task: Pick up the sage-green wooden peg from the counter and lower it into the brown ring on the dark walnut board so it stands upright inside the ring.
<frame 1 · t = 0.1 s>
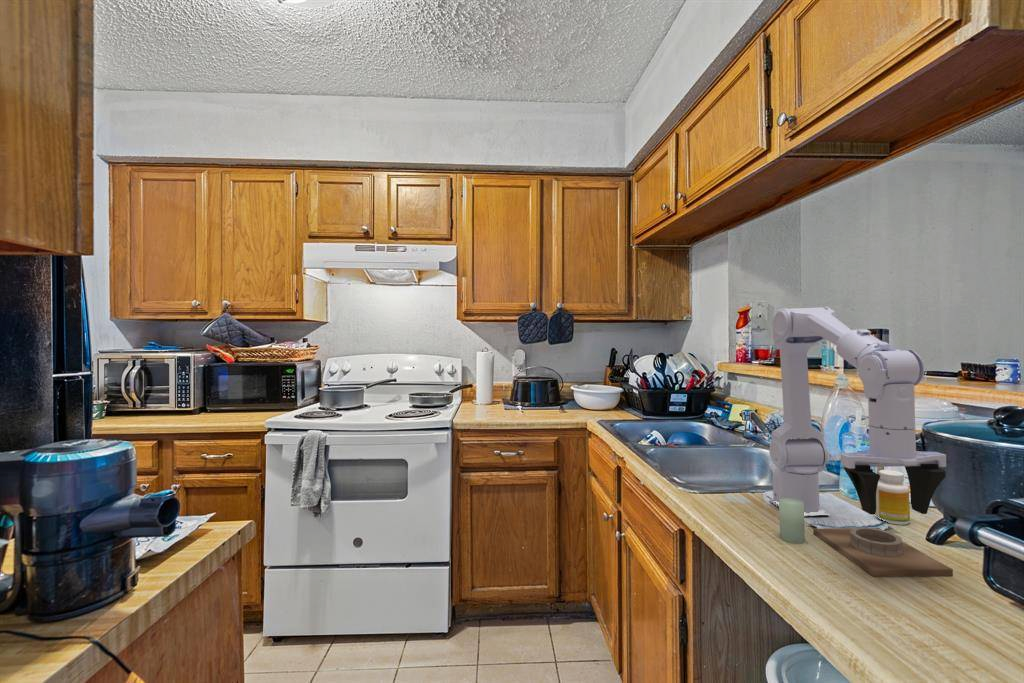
hand: (893, 511, 74), 10 cm above the countertop, tool pointing down, fingers open, 7 cm apart
holder: (876, 552, 82), on the countertop
supplement bottle: (892, 521, 95), on the countertop
peg: (792, 538, 88), on the countertop
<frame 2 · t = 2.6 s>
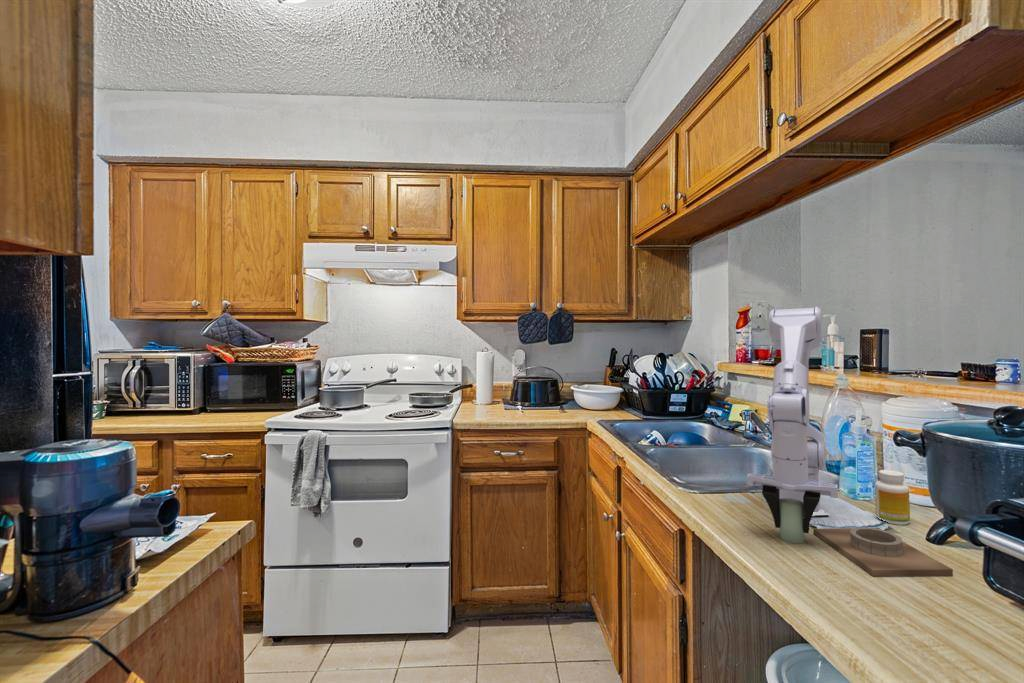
hand: (792, 528, 88), 2 cm above the countertop, tool pointing down, fingers closed on peg, 4 cm apart
peg: (792, 538, 88), on the countertop, touching gripper
everything else where it was.
when the fingers open (4 cm above the countertop, at t = 8.2 s): peg drops 1 cm, resting on holder.
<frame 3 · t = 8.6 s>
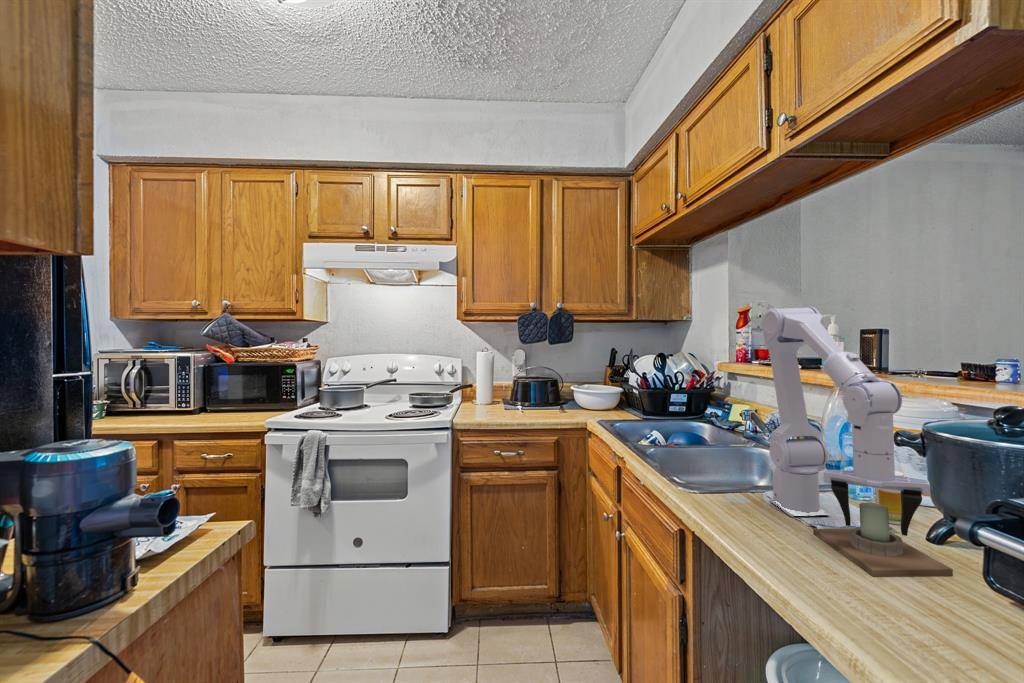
hand: (875, 528, 81), 4 cm above the countertop, tool pointing down, fingers open, 7 cm apart
peg: (875, 546, 82), point 1 cm above the countertop, touching holder
everything else where it was.
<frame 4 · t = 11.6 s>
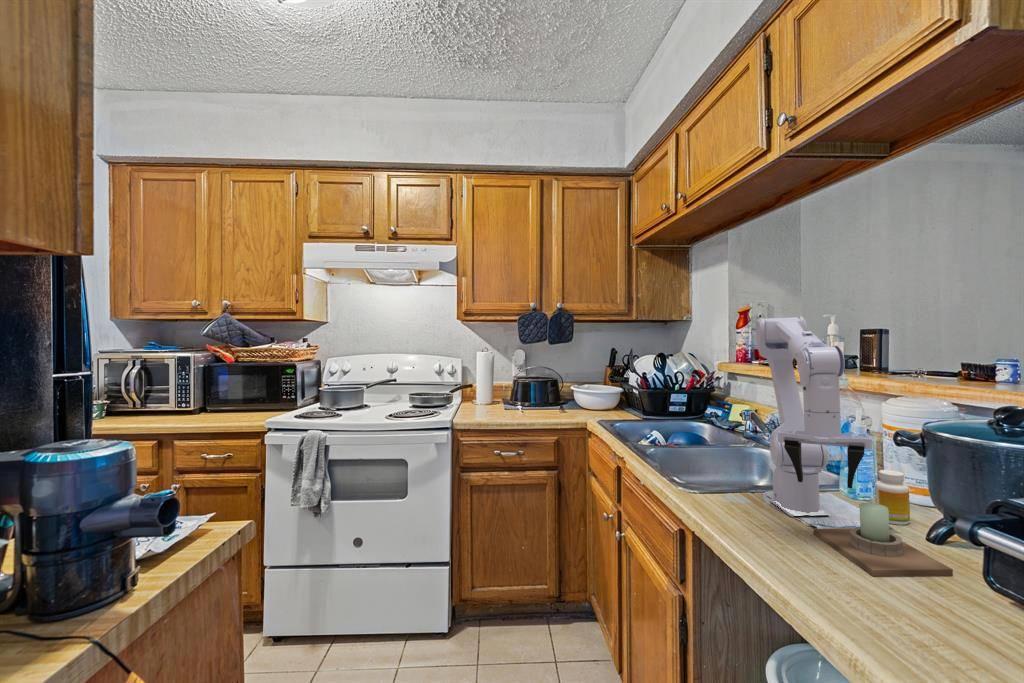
hand: (824, 483, 87), 10 cm above the countertop, tool pointing down, fingers open, 7 cm apart
nothing on the countertop moved.
at the end: peg 0.1 cm off-centre on the holder, point 1.0 cm above the holder's base; peg tilted 1°; the gripper is holding nothing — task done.
